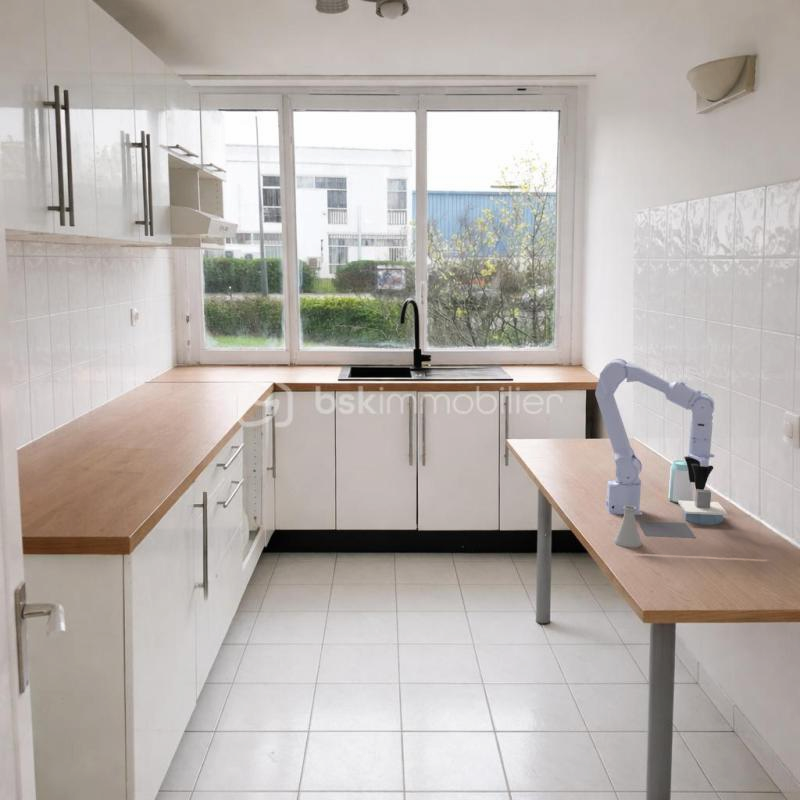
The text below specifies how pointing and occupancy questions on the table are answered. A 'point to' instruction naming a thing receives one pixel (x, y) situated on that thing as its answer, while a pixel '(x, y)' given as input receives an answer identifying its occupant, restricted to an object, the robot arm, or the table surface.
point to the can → (680, 482)
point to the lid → (702, 504)
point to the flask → (628, 530)
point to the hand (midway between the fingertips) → (696, 485)
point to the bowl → (703, 518)
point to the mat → (666, 529)
